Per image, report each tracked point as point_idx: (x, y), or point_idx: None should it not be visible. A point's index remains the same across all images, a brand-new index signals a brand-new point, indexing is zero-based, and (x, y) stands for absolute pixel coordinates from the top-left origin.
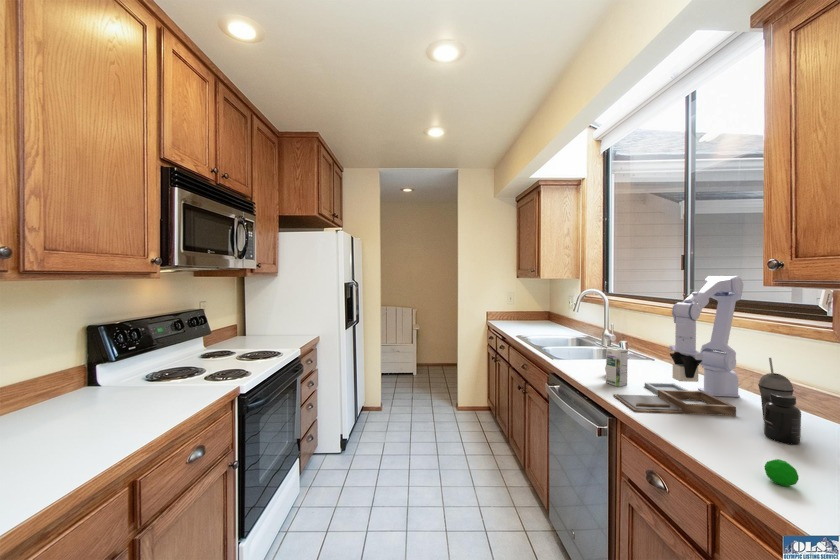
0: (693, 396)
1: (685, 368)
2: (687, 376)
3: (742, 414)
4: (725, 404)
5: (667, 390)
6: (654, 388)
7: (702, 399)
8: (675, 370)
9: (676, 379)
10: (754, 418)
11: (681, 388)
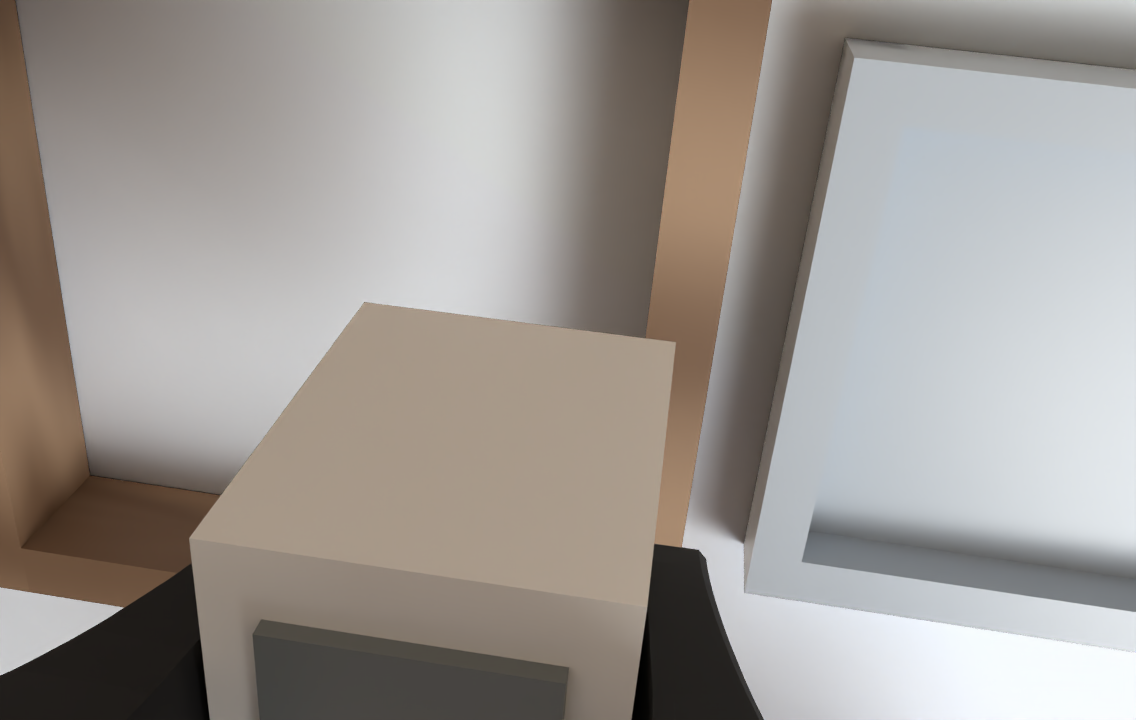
0: None
1: (160, 627)
2: None
3: (115, 606)
4: (94, 550)
5: (712, 122)
6: (1123, 86)
7: None
8: (499, 459)
9: (504, 326)
10: (10, 621)
11: (1000, 590)
